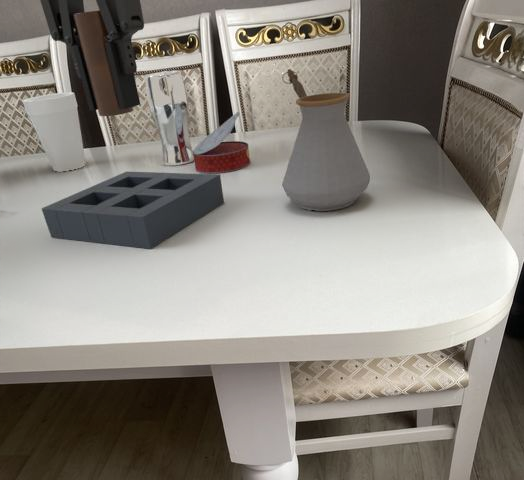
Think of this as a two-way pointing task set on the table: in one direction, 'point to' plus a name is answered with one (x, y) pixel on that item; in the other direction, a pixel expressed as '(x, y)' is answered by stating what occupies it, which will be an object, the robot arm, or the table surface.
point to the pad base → (135, 208)
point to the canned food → (221, 151)
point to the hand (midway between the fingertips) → (114, 107)
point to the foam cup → (58, 129)
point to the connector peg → (98, 62)
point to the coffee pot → (324, 154)
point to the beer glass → (170, 115)
